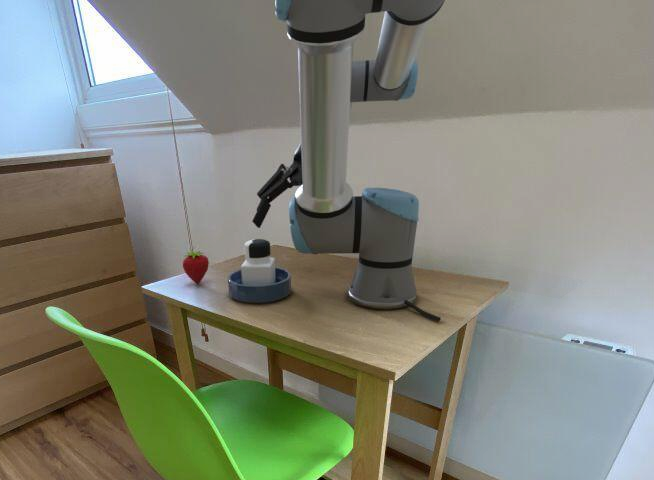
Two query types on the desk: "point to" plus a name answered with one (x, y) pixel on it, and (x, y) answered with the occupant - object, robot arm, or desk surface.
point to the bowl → (260, 288)
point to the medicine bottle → (258, 264)
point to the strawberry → (195, 266)
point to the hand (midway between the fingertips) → (275, 227)
